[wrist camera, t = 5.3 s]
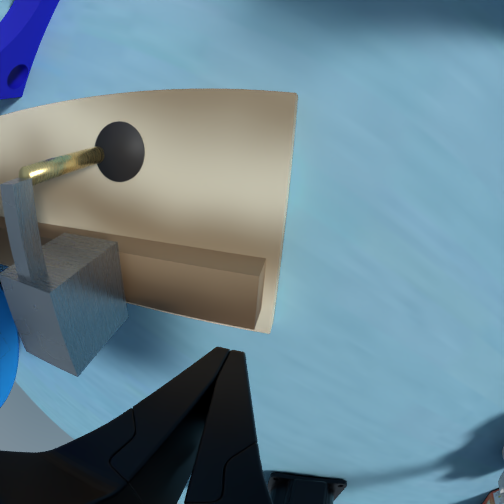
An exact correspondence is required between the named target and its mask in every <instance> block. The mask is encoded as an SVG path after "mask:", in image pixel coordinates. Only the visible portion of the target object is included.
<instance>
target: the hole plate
mask: <svg viewBox="0 0 504 504" xmlns="http://www.w3.org/2000/svg"><path fill="white" fill-rule="evenodd" d="M297 101H298V95H297V94H296V93H290V92H278V91H264V90H245V89H171V90H153V91H139V92H128V93H118V94H109V95H101V96H93V97H87V98H80V99H74V100H68V101H62V102H57V103H52V104H47V105H42V106H37V107H33V108H28V109H24V110H20V111H16V112H12V113H8V114H5V115H1V116H0V184H2V183H5V182H7V181H10V180H13V179H16V178H19V171H20V169H21V168H22V167H24V166H27V165H30V164H34V163H37V162H40V161H44V160H47V159H50V158H54V157H57V156H61V155H65V154H68V153H72V152H76V151H80V150H84V149H88V148H92V147H97V146H99V147H101V148H102V149H103V151H104V159H103V161H102V162H101V163H98V164H95V165H91V166H88V167H85V168H82V169H79V170H76V171H73V172H70V173H67V174H64V175H61V176H59V177H56V178H53V179H50V180H47V181H45V182H42V183H39V184H37V185H34V186H33V194H34V202H35V209H36V216H37V222H38V228H39V234H40V240H41V245H42V246H43V245H44V244H46V243H48V242H49V241H51V240H53V239H54V238H56V237H58V236H60V235H61V234H63V233H70V234H76V235H81V236H87V237H93V238H99V239H104V240H110V241H116V242H118V248H119V256H120V265H121V272H122V279H123V286H124V293H125V299H126V303H129V304H133V305H137V306H141V307H145V308H149V309H153V310H157V311H161V312H166V313H170V314H174V315H178V316H183V317H187V318H192V319H196V320H201V321H206V322H210V323H215V324H220V325H225V326H230V327H235V328H240V329H245V330H251V331H256V332H262V333H267V334H270V331H271V328H272V324H273V319H274V311H275V304H276V296H277V288H278V281H279V273H280V264H281V256H282V248H283V239H284V231H285V222H286V213H287V204H288V195H289V185H290V176H291V166H292V156H293V145H294V135H295V124H296V112H297ZM0 264H2V265H5V266H8V267H10V266H11V265H13V264H14V259H13V255H12V251H11V246H10V242H9V237H8V232H7V227H6V222H5V216H4V210H3V204H2V197H1V190H0Z"/></svg>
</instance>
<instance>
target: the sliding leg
mask: <svg viewBox="0 0 504 504" xmlns="http://www.w3.org/2000/svg"><path fill="white" fill-rule="evenodd" d="M103 159H104V151H103V149H102V148H101V147H99V146H97V147H92V148H88V149H84V150H80V151H76V152H72V153H68V154H65V155H61V156H57V157H54V158H50V159H47V160H44V161H40V162H37V163H34V164H30V165H27V166H24V167H22V168H21V169H20V171H19V178H16V179H13V180H10V181H7V182H5V183H2V184H0V190H1V197H2V204H3V210H4V216H5V222H6V227H7V232H8V237H9V242H10V246H11V251H12V255H13V259H14V264H13V265H11V266H10V267H8V268H7V269H5V270H4V271H2V272H1V273H0V281H1V284H2V288H3V291H4V294H5V297H6V300H7V303H8V306H9V309H10V311H11V314H12V317H13V320H14V322H15V325H16V327H17V330H18V332H19V335H20V337H21V340H22V342H23V344H24V347H25V349H26V351H27V352H29V353H31V354H33V355H34V356H36V357H38V358H40V359H42V360H44V361H46V362H48V363H50V364H52V365H54V366H56V367H58V368H60V369H62V370H64V371H66V372H68V373H70V374H73V375H75V376H77V377H78V376H79V375H80V374H81V373H82V371H83V370H84V369H85V368H86V367H87V365H88V364H89V363H90V362H91V361H92V359H93V358H94V357H95V356H96V355H97V353H98V352H99V351H100V350H101V349H102V348H103V346H104V345H105V344H106V343H107V342H108V340H109V339H110V338H111V337H112V336H113V335H114V334H115V332H116V331H117V330H118V329H119V328H120V327H121V325H122V324H123V323H124V322H125V321H126V320H127V319H128V311H127V305H126V299H125V293H124V286H123V279H122V272H121V265H120V256H119V248H118V242H116V241H110V240H104V239H99V238H93V237H87V236H81V235H76V234H70V233H63V234H61V235H60V236H58V237H56V238H54V239H53V240H51V241H49V242H48V243H46V244H44V245H43V246H42V245H41V240H40V234H39V228H38V222H37V216H36V209H35V202H34V194H33V186H34V185H37V184H39V183H42V182H45V181H47V180H50V179H53V178H56V177H59V176H61V175H64V174H67V173H70V172H73V171H76V170H79V169H82V168H85V167H88V166H91V165H95V164H98V163H101V162H102V161H103Z"/></svg>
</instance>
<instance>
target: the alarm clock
mask: <svg viewBox="0 0 504 504" xmlns="http://www.w3.org/2000/svg"><path fill="white" fill-rule="evenodd" d="M18 359H19V341H18V332H17V327H16V325H15V322H14V320H13V317H12V314H11V311H10V309H9V306H8V303H7V300H6V297H5V294H4V291H3V289H2V288H1V286H0V408H1V406H2V405H3V404H4V402H5V401H6V399H7V397H8V395H9V393H10V391H11V389H12V387H13V384H14V381H15V377H16V373H17V367H18Z"/></svg>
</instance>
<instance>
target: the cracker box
mask: <svg viewBox="0 0 504 504" xmlns="http://www.w3.org/2000/svg"><path fill="white" fill-rule="evenodd" d="M482 504H502V501H501V495H500V490H499V489H497V490H495V491H492V492H490V493H489V495H488V496H487V498H486V499H485V501H484V502H483V503H482Z"/></svg>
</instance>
